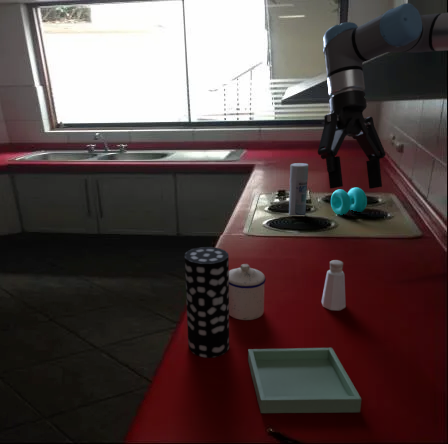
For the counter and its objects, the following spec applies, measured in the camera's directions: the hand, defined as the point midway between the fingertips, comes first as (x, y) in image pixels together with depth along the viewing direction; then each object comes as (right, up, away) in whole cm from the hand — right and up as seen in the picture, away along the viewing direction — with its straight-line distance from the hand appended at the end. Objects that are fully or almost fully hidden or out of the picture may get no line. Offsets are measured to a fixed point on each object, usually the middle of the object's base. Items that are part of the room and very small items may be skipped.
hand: (356, 187), depth 93 cm
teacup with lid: (-25, -29, +5) cm, 39 cm away
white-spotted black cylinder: (-34, -33, -8) cm, 48 cm away
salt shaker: (-3, -27, +5) cm, 28 cm away
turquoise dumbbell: (+29, -5, +69) cm, 75 cm away
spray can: (+10, -5, +71) cm, 72 cm away
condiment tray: (-20, -36, -20) cm, 46 cm away
